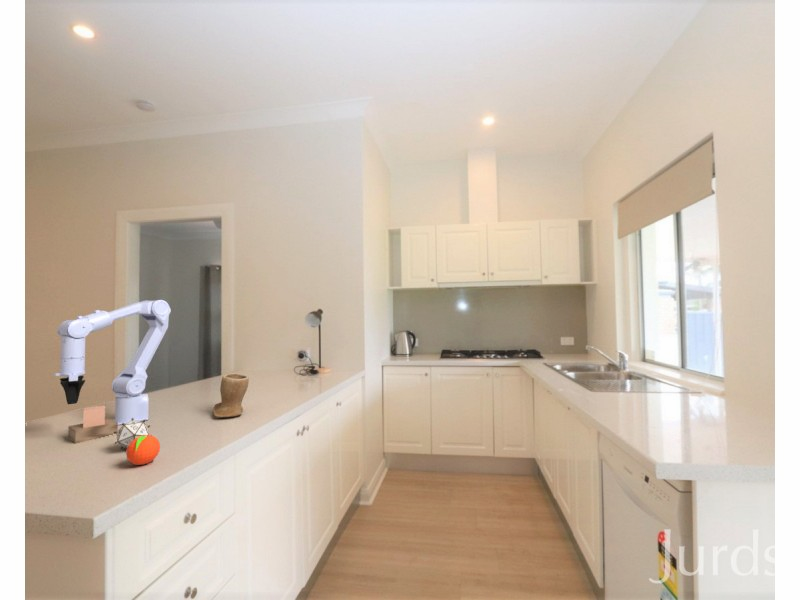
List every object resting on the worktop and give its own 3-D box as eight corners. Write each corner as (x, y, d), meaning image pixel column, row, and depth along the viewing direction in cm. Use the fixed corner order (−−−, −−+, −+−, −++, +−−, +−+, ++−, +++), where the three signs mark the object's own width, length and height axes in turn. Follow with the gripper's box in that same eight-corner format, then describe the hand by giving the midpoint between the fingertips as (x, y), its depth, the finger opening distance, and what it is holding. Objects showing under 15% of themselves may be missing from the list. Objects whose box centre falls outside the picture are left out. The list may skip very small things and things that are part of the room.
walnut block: (108, 430, 118) (109, 418, 118) (117, 435, 113) (117, 422, 113) (68, 439, 110) (68, 426, 110) (75, 444, 105) (75, 431, 105)
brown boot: (249, 417, 130) (249, 375, 131) (212, 421, 125) (212, 378, 126) (247, 407, 144) (247, 369, 145) (213, 411, 139) (214, 372, 140)
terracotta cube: (104, 421, 115) (104, 405, 115) (104, 424, 111) (105, 408, 111) (83, 424, 112) (83, 407, 112) (83, 428, 108) (83, 411, 108)
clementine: (152, 469, 87) (153, 439, 87) (118, 473, 85) (119, 442, 85) (163, 456, 94) (164, 429, 95) (133, 460, 92) (133, 432, 93)
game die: (141, 460, 101) (165, 430, 103) (110, 460, 94) (137, 428, 95) (129, 439, 106) (152, 411, 107) (98, 438, 98) (124, 407, 100)
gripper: (55, 357, 115) (54, 400, 115) (55, 361, 105) (54, 408, 105) (84, 355, 120) (83, 396, 120) (87, 358, 110) (86, 403, 109)
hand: (71, 401), depth 113 cm, fingers open, 7 cm apart
